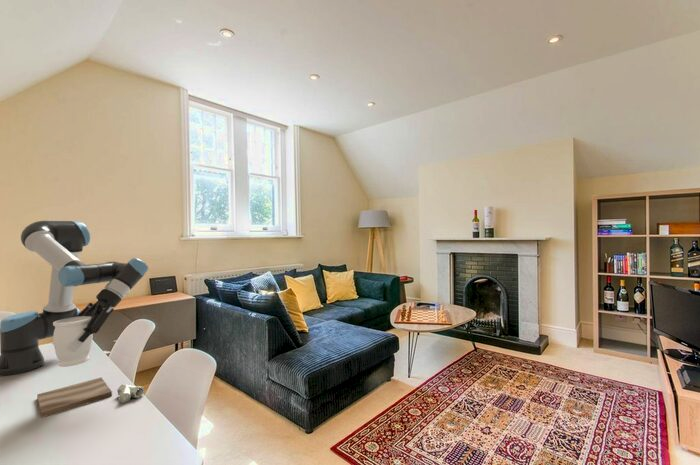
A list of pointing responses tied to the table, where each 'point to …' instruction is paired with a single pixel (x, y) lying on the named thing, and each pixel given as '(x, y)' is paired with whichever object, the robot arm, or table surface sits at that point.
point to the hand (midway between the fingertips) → (63, 348)
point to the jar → (71, 340)
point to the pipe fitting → (129, 392)
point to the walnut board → (72, 396)
